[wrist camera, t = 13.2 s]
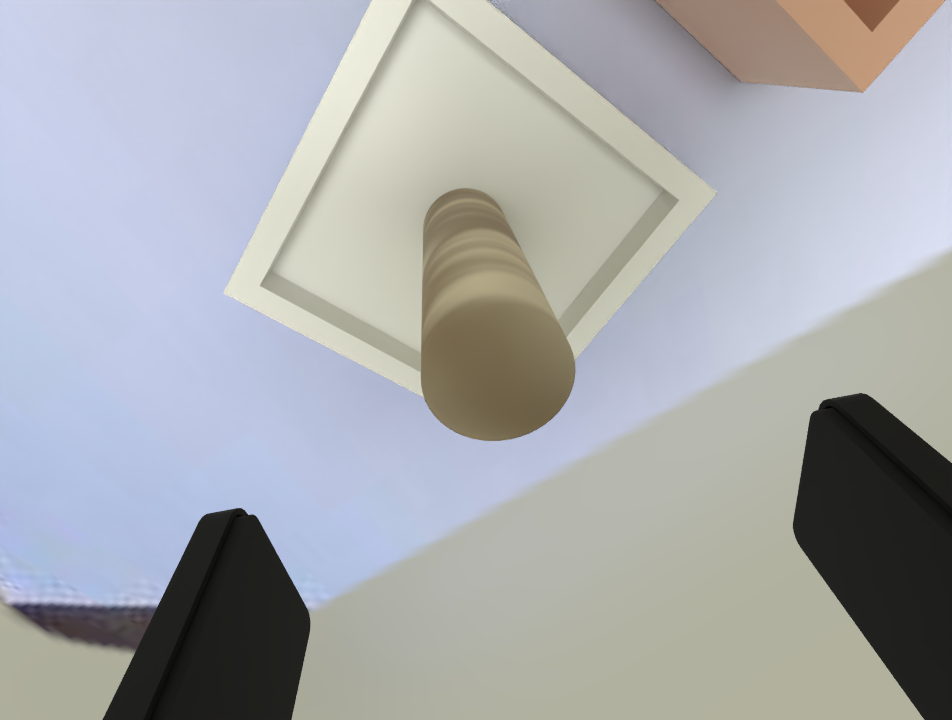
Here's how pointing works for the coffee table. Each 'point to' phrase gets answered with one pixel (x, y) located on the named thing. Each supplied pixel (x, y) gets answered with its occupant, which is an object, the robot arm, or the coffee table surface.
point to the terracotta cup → (803, 37)
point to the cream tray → (457, 184)
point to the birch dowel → (486, 325)
